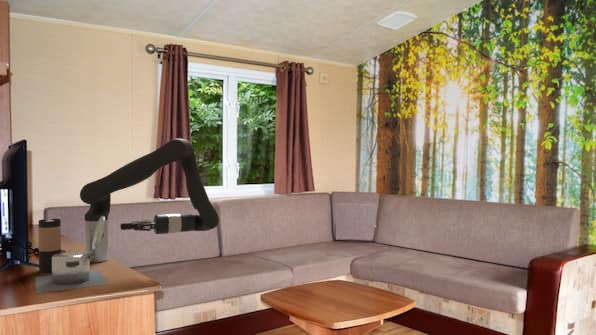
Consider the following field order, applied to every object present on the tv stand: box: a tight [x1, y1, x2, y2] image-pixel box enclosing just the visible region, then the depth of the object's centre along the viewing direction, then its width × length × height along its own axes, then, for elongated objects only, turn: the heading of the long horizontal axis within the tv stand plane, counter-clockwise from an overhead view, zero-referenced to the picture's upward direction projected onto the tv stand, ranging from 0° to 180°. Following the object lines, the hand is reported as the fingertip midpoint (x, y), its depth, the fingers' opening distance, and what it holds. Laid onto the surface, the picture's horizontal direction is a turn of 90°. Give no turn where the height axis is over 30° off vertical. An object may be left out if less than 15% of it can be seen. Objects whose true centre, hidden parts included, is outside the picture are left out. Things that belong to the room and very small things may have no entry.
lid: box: [90, 216, 105, 255], centre depth 170 cm, size 13×14×2 cm
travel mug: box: [38, 218, 62, 274], centre depth 179 cm, size 8×8×20 cm
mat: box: [34, 269, 109, 294], centre depth 166 cm, size 22×22×1 cm
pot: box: [51, 251, 93, 285], centre depth 166 cm, size 16×13×9 cm
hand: (120, 226), depth 174 cm, fingers closed
